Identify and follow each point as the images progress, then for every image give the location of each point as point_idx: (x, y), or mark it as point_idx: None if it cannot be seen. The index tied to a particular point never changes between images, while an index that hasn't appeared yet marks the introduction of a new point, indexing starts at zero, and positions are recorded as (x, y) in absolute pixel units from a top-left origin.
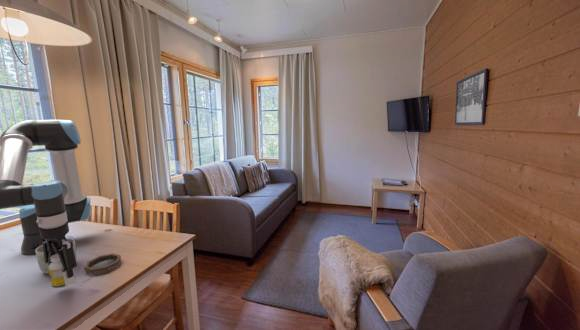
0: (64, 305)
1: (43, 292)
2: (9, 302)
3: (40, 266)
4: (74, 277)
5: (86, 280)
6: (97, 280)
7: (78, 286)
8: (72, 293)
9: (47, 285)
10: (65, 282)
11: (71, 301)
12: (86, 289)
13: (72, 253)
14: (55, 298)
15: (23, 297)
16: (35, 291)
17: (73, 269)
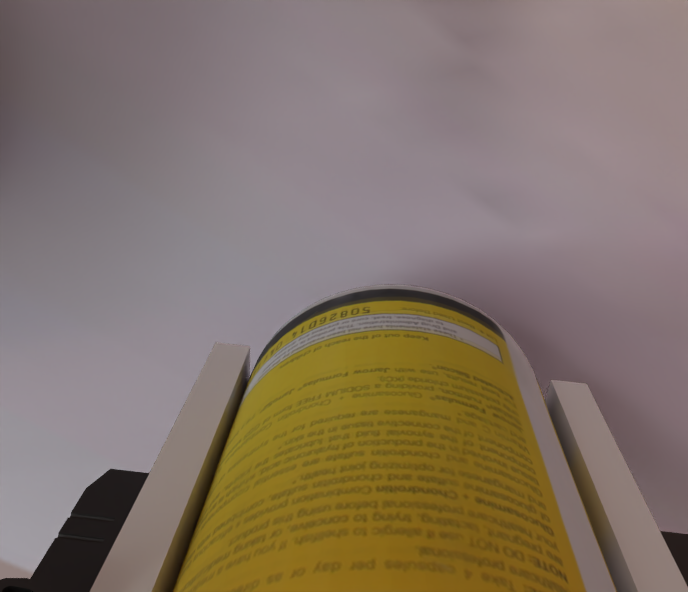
0: (654, 514)
1: (157, 404)
2: (31, 553)
3: None
4: (527, 369)
5: (459, 82)
6: (666, 32)
7: (480, 232)
8: (545, 358)
9: (28, 301)
10: None
11: (677, 461)
12: (674, 260)
13: None
14: None
15: (58, 491)
16: (45, 407)
17: (556, 473)
